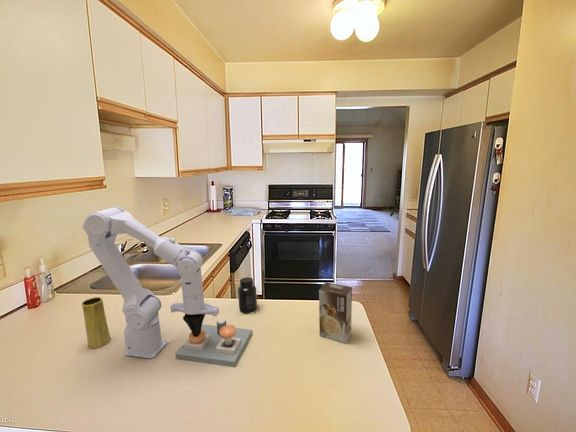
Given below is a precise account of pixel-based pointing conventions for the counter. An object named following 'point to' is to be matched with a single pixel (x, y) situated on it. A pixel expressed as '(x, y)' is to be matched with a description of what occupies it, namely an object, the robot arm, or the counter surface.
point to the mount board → (215, 347)
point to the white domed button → (220, 325)
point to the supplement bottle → (247, 296)
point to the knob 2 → (227, 333)
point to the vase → (95, 322)
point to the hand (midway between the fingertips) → (197, 334)
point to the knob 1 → (197, 338)
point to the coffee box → (335, 311)
